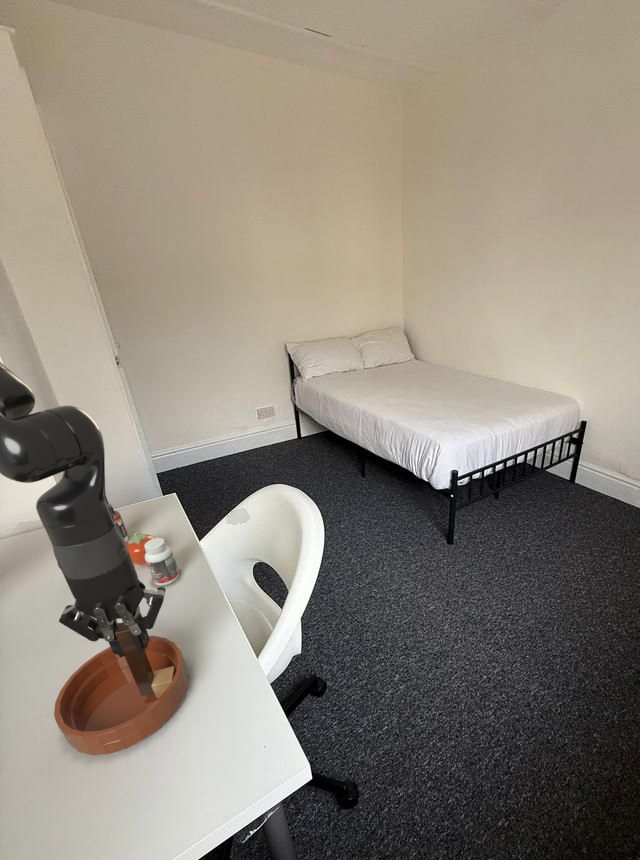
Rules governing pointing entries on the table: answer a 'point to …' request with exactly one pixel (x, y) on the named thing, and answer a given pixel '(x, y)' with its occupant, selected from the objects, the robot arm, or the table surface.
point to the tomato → (138, 547)
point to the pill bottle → (160, 562)
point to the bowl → (118, 700)
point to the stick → (135, 660)
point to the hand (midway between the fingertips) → (133, 649)
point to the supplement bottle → (120, 523)
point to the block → (162, 680)
